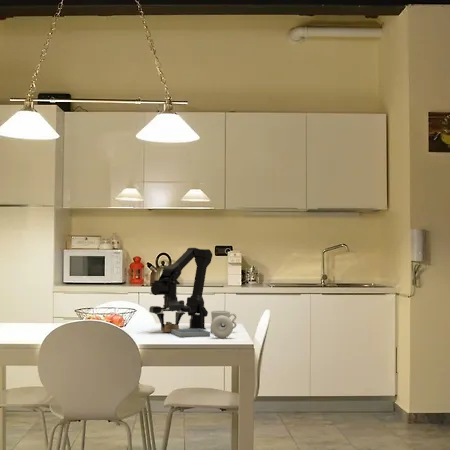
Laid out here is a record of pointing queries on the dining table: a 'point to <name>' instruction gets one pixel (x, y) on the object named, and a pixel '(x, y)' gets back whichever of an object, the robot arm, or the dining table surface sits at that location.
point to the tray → (190, 332)
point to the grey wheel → (216, 330)
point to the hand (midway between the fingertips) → (169, 327)
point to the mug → (224, 313)
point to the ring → (169, 327)
